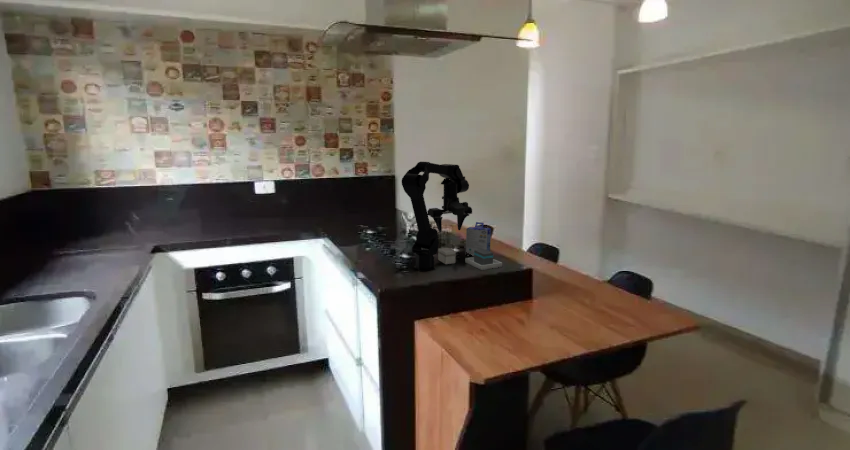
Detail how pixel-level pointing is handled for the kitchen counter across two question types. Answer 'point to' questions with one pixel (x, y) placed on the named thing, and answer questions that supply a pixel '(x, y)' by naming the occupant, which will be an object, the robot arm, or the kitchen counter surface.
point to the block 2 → (483, 257)
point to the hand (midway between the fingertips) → (449, 231)
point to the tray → (483, 267)
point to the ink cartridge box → (477, 238)
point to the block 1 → (446, 255)
